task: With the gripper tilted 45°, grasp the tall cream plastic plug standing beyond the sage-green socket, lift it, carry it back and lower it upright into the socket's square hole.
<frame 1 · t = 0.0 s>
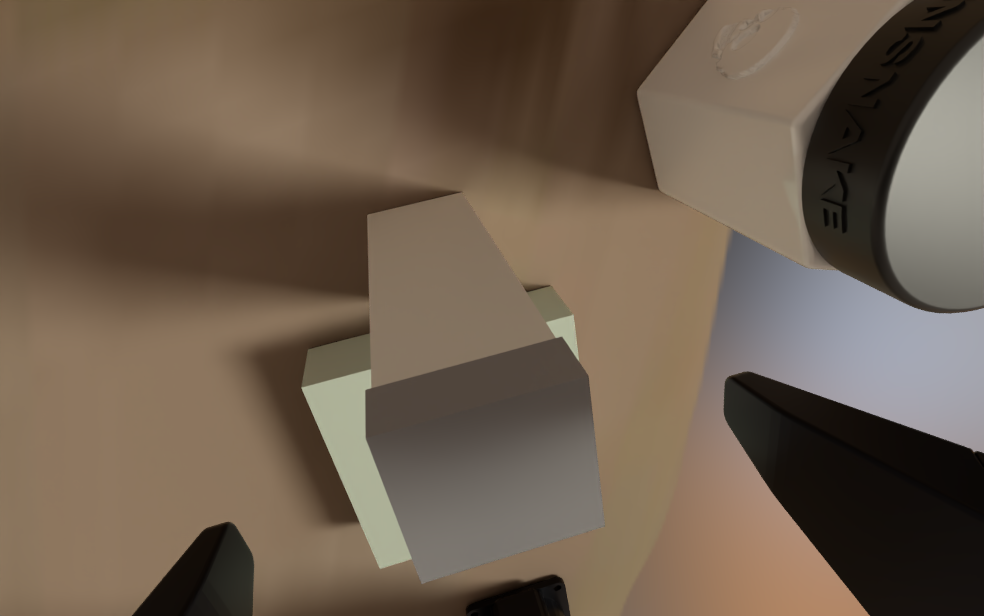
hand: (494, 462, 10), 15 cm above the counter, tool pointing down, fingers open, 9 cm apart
jar: (725, 104, 23), on the counter
socket: (458, 412, 27), on the counter
plug: (426, 247, 23), on the counter
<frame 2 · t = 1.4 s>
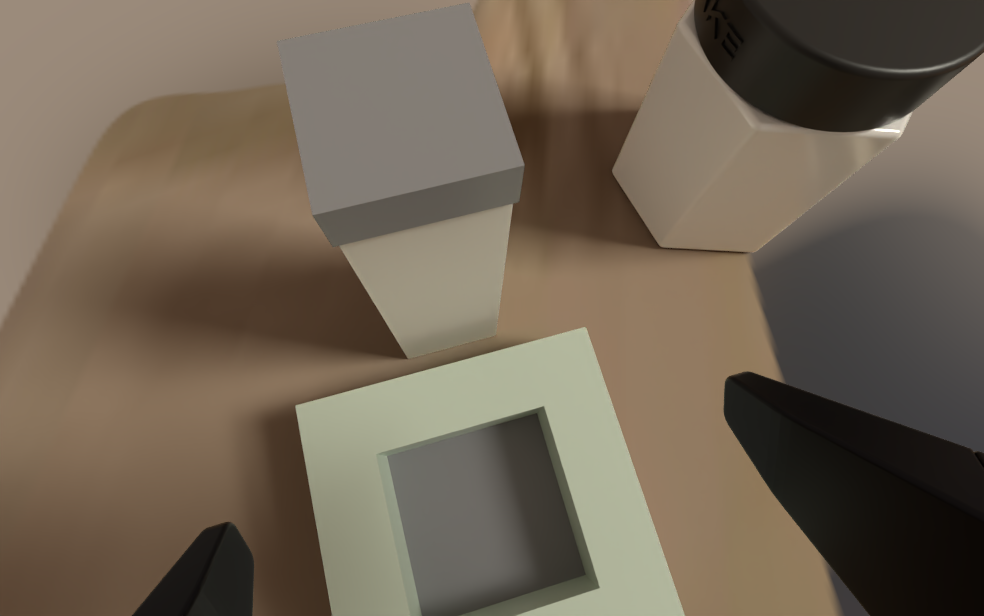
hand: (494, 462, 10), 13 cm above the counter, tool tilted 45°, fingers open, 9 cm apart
jar: (699, 181, 27), on the counter
socket: (483, 512, 22), on the counter
plug: (441, 305, 24), on the counter
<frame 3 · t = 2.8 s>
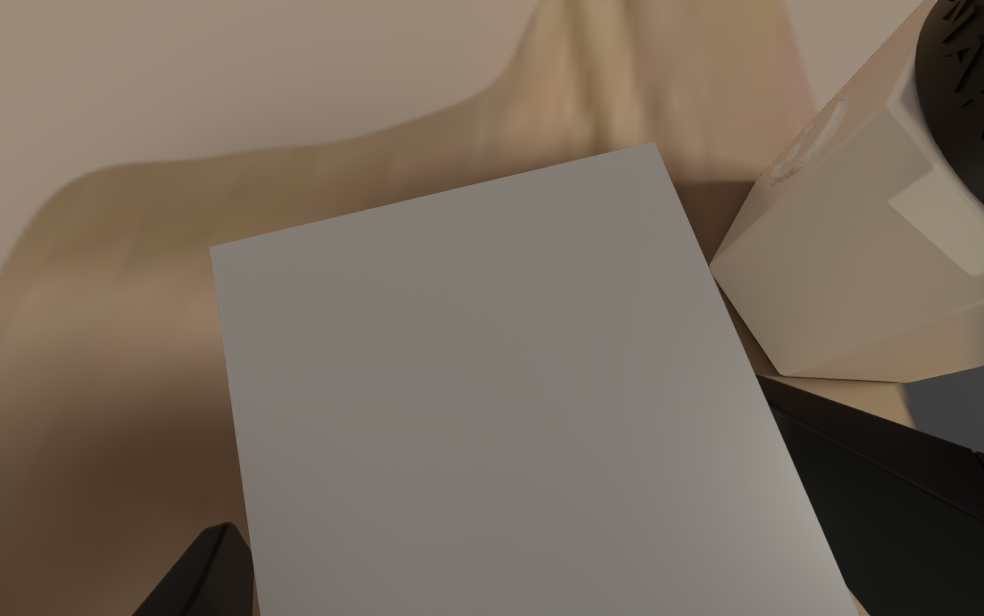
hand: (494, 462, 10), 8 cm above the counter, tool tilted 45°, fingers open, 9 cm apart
jar: (822, 278, 20), on the counter
plug: (485, 463, 18), on the counter
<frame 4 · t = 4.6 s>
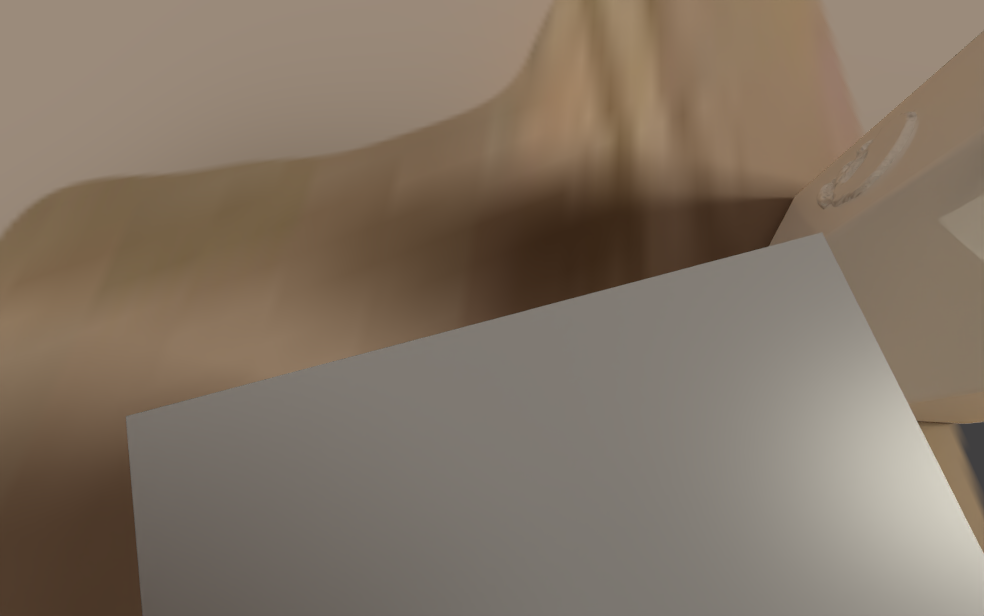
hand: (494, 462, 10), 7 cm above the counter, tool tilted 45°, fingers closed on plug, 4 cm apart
jar: (867, 305, 18), on the counter
plug: (500, 514, 16), on the counter, touching gripper
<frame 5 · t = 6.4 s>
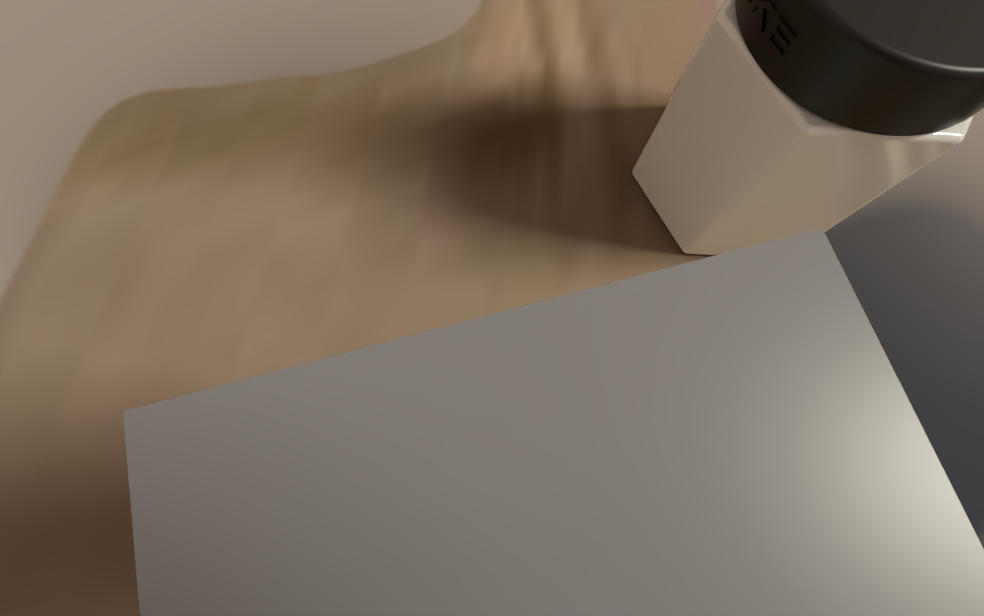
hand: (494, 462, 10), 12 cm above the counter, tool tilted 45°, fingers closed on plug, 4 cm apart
jar: (723, 182, 25), on the counter
plug: (500, 514, 16), point 5 cm above the counter, touching gripper
when the fingers open (8 cm above the counter, at t = 8.2 s): plug stays where it is, resting on socket.
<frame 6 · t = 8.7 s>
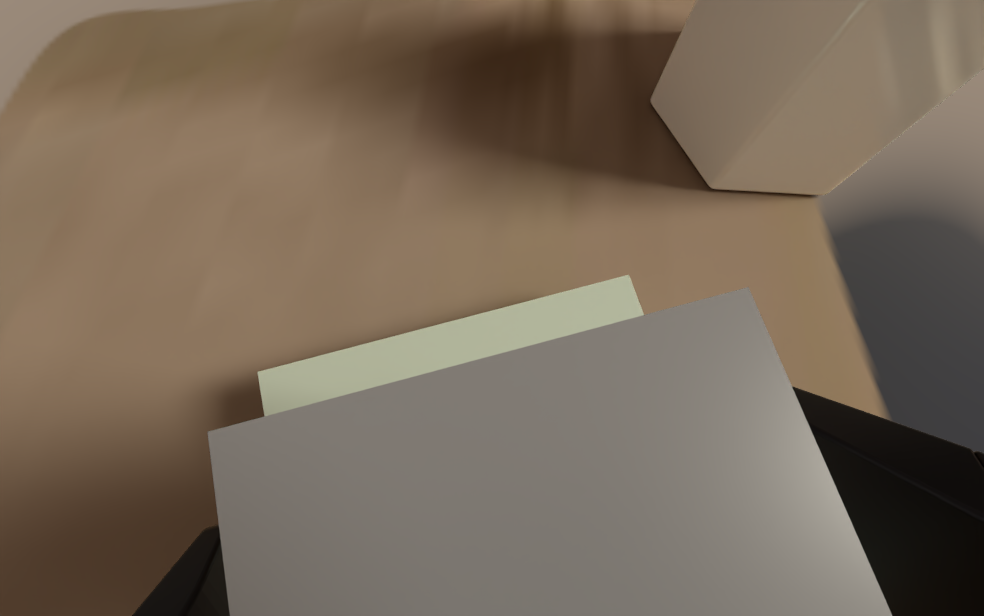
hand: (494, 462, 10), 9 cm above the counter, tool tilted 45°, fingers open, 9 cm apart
jar: (753, 113, 22), on the counter
socket: (498, 510, 17), on the counter
plug: (498, 512, 17), resting on socket
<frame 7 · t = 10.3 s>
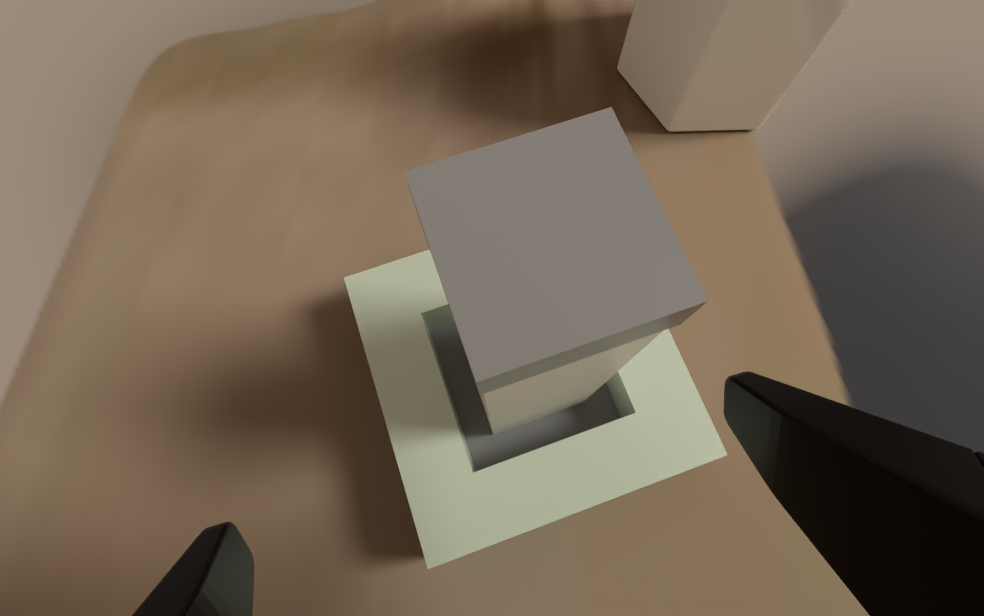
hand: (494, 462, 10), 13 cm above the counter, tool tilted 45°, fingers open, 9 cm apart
jar: (700, 71, 28), on the counter
socket: (522, 375, 23), on the counter
plug: (521, 373, 23), resting on socket
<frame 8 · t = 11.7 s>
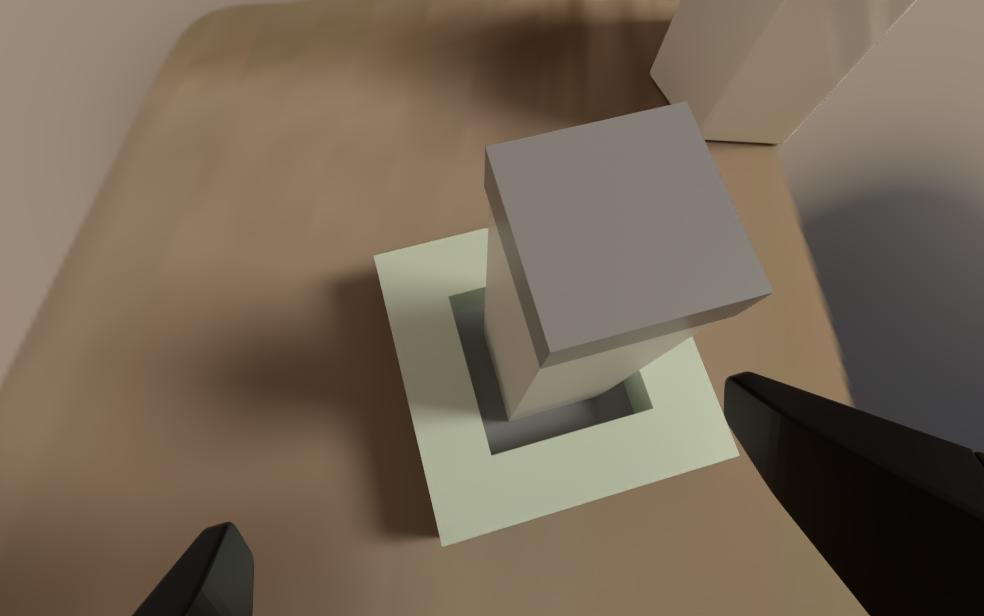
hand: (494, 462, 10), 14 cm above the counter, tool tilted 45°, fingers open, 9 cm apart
jar: (729, 83, 29), on the counter
socket: (539, 365, 24), on the counter
plug: (540, 364, 23), resting on socket
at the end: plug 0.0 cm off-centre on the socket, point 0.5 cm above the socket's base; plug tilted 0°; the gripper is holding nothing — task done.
